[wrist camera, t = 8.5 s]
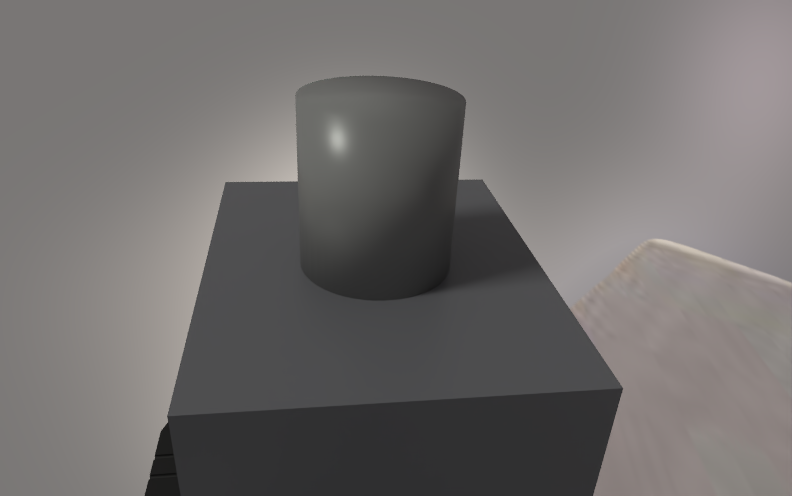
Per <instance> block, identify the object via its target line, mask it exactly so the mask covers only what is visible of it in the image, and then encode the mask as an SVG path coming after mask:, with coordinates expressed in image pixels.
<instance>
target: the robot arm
mask: <svg viewBox="0 0 792 496" xmlns="http://www.w3.org/2000/svg"><path fill="white" fill-rule="evenodd" d="M145 496H181V495H180V489H179V483H178V477H177V471H176V465H175V459H174V453H173V447H172V441H171V435H170V429H169V423H167V424H166V426H165V427H164V428H163V430H162V431H161V433H160V437H159V441H158V445H157V449H156V453H155V460H154V461H153V465H152V469H151V473H150V480H149V481H148V485H147V489H146V492H145Z"/></svg>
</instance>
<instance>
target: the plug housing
mask: <svg viewBox="0 0 792 496" xmlns="http://www.w3.org/2000/svg"><path fill="white" fill-rule="evenodd" d="M295 96H296V126H297V127H296V130H297V162H298V182H226V183H225V187H224V191H223V195H222V199H221V203H220V207H219V211H218V215H217V219H216V223H215V227H214V231H213V235H212V240H211V244H210V247H209V251H208V256H207V259H206V263H205V267H204V272H203V276H202V279H201V283H200V287H199V291H198V295H197V300H196V303H195V307H194V312H193V315H192V319H191V324H190V328H189V332H188V336H187V339H186V343H185V348H184V352H183V356H182V360H181V364H180V368H179V372H178V376H177V380H176V384H175V388H174V392H173V396H172V400H171V404H170V408H169V412H168V416H167V417H168V423H169V429H170V435H171V441H172V447H173V453H174V459H175V465H176V471H177V477H178V483H179V489H180V495H181V496H593V493H594V490H595V486H596V483H597V479H598V476H599V472H600V468H601V465H602V461H603V458H604V454H605V451H606V447H607V444H608V440H609V436H610V433H611V429H612V426H613V422H614V419H615V415H616V411H617V408H618V404H619V401H620V397H621V394H622V390H623V388H622V386H621V385H620V383H619V382H618V380H617V379H616V377H615V376H614V374H613V373H612V371H611V370H610V368H609V367H608V365H607V364H606V362H605V361H604V359H603V358H602V356H601V355H600V353H599V352H598V351H597V349H596V348H595V346H594V345H593V343H592V342H591V340H590V339H589V337H588V336H587V334H586V333H585V331H584V330H583V328H582V327H581V325H580V324H579V322H578V321H577V319H576V318H575V316H574V315H573V313H572V312H571V311H570V309H569V308H568V306H567V305H566V303H565V302H564V300H563V299H562V297H561V296H560V294H559V293H558V291H557V290H556V288H555V287H554V285H553V284H552V282H551V281H550V280H549V278H548V276H547V275H546V274H545V272H544V271H543V269H542V268H541V266H540V265H539V263H538V262H537V260H536V259H535V257H534V256H533V254H532V253H531V251H530V250H529V248H528V247H527V245H526V244H525V242H524V241H523V239H522V238H521V236H520V235H519V233H518V232H517V230H516V229H515V228H514V226H513V225H512V223H511V222H510V220H509V219H508V217H507V216H506V214H505V213H504V211H503V210H502V208H501V207H500V205H499V204H498V203H497V201H496V199H495V198H494V196H493V195H492V193H491V192H490V190H489V189H488V188H487V186H486V185H485V183H484V182H483V180H458V177H459V167H460V157H461V147H462V136H463V126H464V117H465V106H466V100H465V98H464V97H463V96H462V95H461V94H460V93H458V92H456V91H455V90H452V89H450V88H448V87H445V86H442V85H438V84H435V83H431V82H426V81H421V80H415V79H408V78H400V77H399V78H398V77H387V76H350V77H339V78H331V79H325V80H320V81H316V82H312V83H310V84H307V85H305V86H303V87H301V88H300V89H299V90H298V91H297V92H296V95H295Z"/></svg>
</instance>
